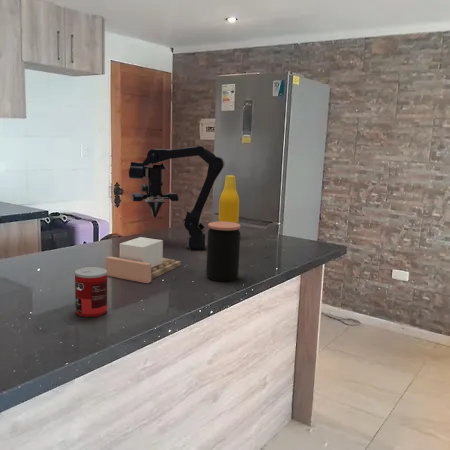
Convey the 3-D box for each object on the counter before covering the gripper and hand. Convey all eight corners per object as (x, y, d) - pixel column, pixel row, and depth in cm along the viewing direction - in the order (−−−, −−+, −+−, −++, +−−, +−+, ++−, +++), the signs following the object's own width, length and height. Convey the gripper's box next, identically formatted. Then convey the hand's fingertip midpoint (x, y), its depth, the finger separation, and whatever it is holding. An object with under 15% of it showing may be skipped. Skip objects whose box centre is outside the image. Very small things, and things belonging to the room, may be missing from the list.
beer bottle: (219, 236, 218) (221, 174, 213) (238, 237, 217) (241, 175, 212) (216, 240, 209) (218, 175, 204) (236, 241, 208) (239, 177, 203)
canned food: (79, 306, 124) (78, 266, 121) (109, 306, 124) (109, 267, 122) (72, 317, 116) (71, 275, 114) (104, 317, 117) (104, 275, 115)
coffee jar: (242, 275, 158) (244, 223, 154) (232, 284, 148) (234, 228, 144) (212, 271, 161) (214, 220, 158) (201, 279, 151) (203, 225, 148)
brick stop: (109, 273, 153) (109, 256, 152) (151, 281, 147) (151, 263, 146) (105, 275, 151) (105, 257, 150) (147, 283, 145) (147, 264, 144)
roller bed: (148, 260, 172) (148, 253, 171) (180, 265, 166) (180, 258, 166) (113, 274, 153) (113, 267, 152) (148, 280, 147) (148, 273, 147)
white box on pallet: (140, 259, 162) (140, 237, 161) (162, 263, 159) (162, 240, 157) (119, 267, 152) (119, 243, 150) (142, 271, 148) (143, 247, 147)
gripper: (172, 178, 199) (171, 213, 202) (128, 177, 193) (128, 214, 196) (179, 180, 189) (178, 218, 192) (133, 180, 182) (133, 219, 185)
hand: (154, 217), depth 192 cm, fingers closed
